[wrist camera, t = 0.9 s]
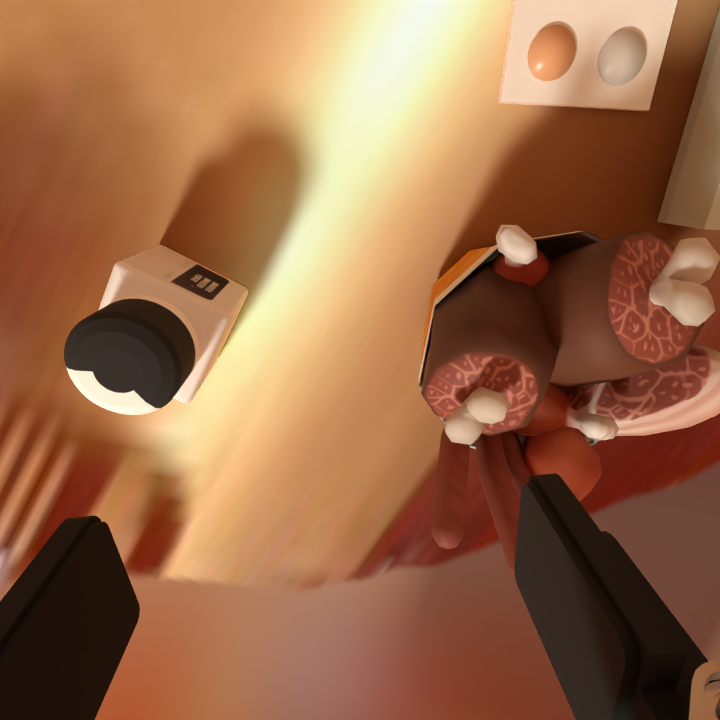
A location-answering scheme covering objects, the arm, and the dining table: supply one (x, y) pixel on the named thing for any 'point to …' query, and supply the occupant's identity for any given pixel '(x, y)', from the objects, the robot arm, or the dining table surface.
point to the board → (698, 153)
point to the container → (153, 332)
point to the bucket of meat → (561, 361)
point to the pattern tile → (585, 52)
